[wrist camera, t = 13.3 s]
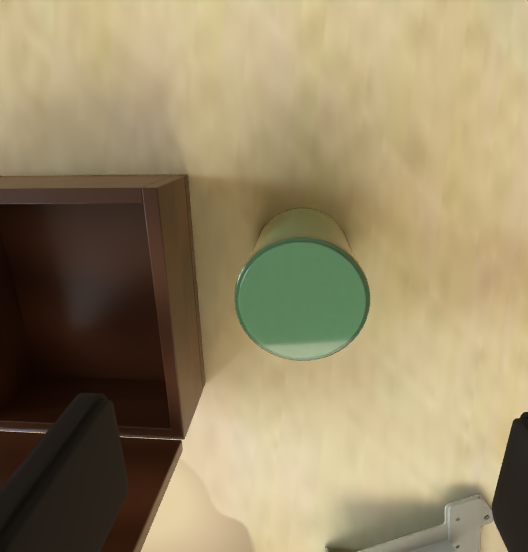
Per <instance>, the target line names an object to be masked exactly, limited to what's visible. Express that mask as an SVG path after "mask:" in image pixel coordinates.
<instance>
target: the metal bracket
mask: <svg viewBox="0 0 528 552" xmlns="http://www.w3.org/2000/svg"><path fill="white" fill-rule="evenodd" d="M486 515H488V516H487V517H486V518H484V517H485V516H486ZM492 521H493V514H492V510H491V509H490V508H489V506H488V505H487V503H486V502H485V500H484V499H483V498H482V496H481V495H480V494H477V495H473V496H470V497H467V498H464V499H461V500H458V501H454V502H451V503H448V504H447V505H446V506H445V521H444V522H443V524H441V525H438V526H435V527H431V528H428V529H425V530H422V531H419V532H416V533H413V534H410V535H407V536H403V537H400V538H397V539H394V540H391V541H388V542H385V543H382V544H378V545H375V546H372V547H369V548H366V549H363V550H360V551H357V552H480V528H481V527H482V526H483V525H486V524H489V523H491V522H492ZM325 552H329V551H328V548H327V547H325Z"/></svg>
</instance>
